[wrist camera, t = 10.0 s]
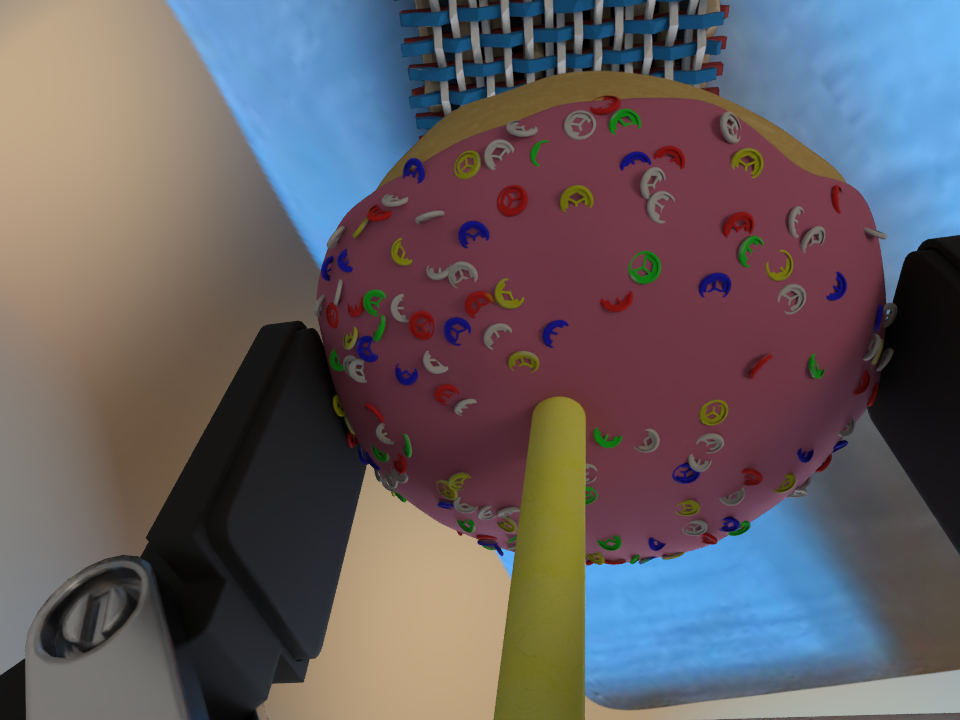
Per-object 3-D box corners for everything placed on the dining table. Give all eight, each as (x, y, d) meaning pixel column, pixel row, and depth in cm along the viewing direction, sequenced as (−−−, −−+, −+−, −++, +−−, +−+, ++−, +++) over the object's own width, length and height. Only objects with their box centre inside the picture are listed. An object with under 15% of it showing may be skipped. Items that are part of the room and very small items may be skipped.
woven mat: (698, 212, 25) (711, 236, 23) (436, 230, 26) (430, 254, 24) (742, -117, 18) (764, -116, 17) (388, -76, 19) (377, -71, 18)
